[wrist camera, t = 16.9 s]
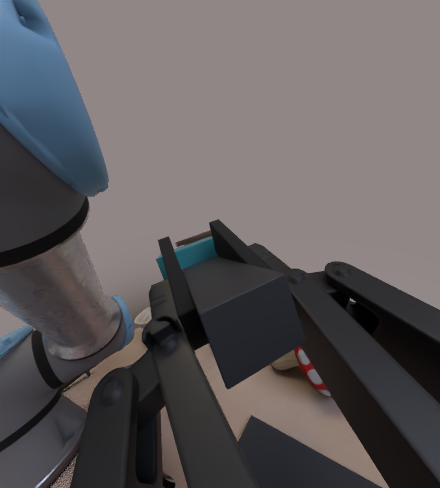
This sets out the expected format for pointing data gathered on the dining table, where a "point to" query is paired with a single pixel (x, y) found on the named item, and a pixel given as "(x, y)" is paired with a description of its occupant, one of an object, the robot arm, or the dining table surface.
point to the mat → (292, 461)
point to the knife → (76, 378)
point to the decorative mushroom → (300, 359)
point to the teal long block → (239, 310)
